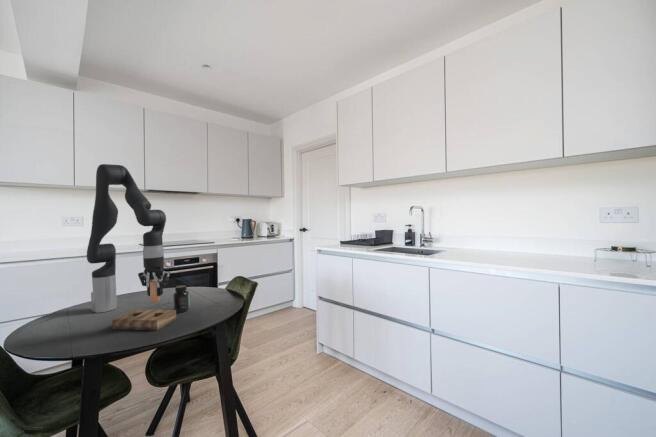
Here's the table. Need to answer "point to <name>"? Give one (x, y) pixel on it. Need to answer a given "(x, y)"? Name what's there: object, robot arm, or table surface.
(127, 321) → the wooden block with holes
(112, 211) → the robot arm
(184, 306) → the supplement bottle
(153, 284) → the orange tall block
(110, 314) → the table surface
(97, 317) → the table surface
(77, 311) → the table surface
